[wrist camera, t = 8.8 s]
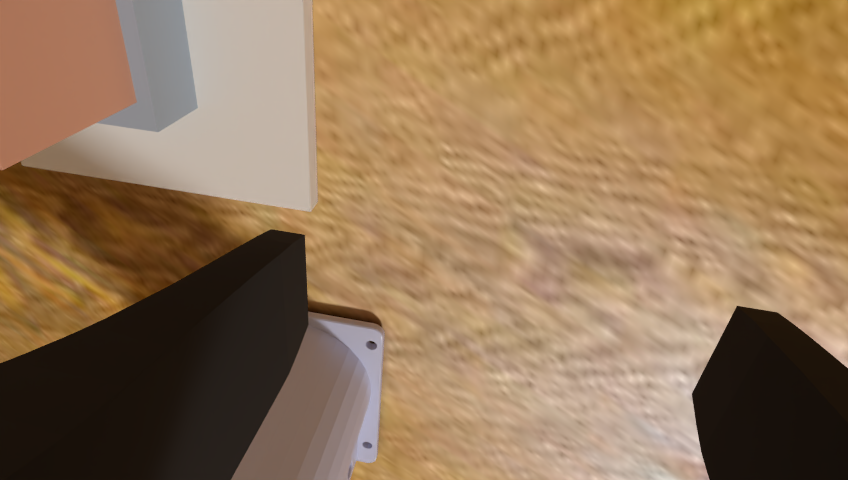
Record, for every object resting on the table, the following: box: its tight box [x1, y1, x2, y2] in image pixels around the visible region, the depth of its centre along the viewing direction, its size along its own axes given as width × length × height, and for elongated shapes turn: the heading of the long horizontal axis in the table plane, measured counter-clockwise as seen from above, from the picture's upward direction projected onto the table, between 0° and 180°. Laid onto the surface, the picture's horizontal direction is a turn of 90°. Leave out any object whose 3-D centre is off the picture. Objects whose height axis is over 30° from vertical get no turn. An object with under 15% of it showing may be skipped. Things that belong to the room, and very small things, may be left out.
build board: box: [21, 0, 318, 212], centre depth 18 cm, size 11×12×1 cm
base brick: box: [97, 0, 198, 132], centre depth 17 cm, size 6×6×2 cm
